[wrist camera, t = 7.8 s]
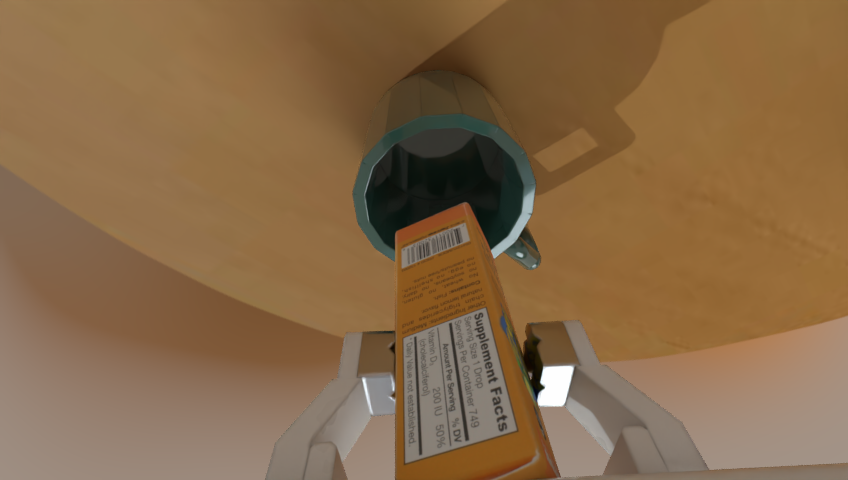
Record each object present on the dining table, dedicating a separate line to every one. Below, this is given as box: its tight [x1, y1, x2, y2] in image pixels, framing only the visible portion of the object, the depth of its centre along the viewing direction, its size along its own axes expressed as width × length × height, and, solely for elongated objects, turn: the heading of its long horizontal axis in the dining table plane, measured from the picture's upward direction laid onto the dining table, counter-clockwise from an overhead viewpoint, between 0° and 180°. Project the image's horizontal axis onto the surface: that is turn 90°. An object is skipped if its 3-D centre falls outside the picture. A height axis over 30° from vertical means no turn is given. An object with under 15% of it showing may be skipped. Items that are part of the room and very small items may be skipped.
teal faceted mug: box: [353, 70, 541, 270], centre depth 23 cm, size 12×8×8 cm
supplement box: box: [395, 202, 561, 480], centre depth 12 cm, size 3×3×10 cm
